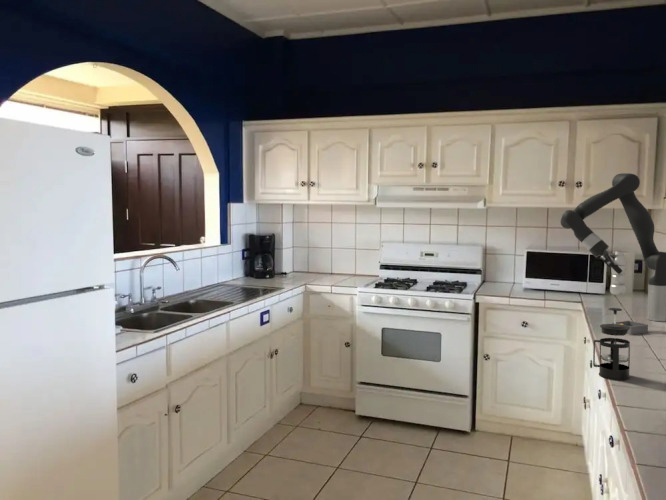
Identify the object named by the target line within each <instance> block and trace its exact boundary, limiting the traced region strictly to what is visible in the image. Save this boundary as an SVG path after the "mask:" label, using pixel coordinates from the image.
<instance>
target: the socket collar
mask: <svg viewBox="0 0 666 500" xmlns="http://www.w3.org/2000/svg"><path fill="white" fill-rule="evenodd" d="M611 324H614V321H613V322H612V323H611ZM616 324H620V325H626V326H629V327H630V329H629V330H628V332H627V334H626V335H630V336H631V335H640V334H646V333H647V334H648V331H649V325H648V324H646V323H643V322H637V321H633V320H622V321H616Z"/></svg>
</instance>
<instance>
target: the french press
mask: <svg viewBox="0 0 666 500" xmlns="http://www.w3.org/2000/svg"><path fill="white" fill-rule="evenodd" d="M607 310H608V311H613V316H614V320H613V322H614V324H612V323H602V324H600V325H599V326H600V328H601V329H600V332H601V333H602V334H603V335H606V336H607V335H609V336H613V337H603V338H600V339H594V340H593V346H592V347H593V349H592V350H593V352H592V353H593V355H592V356H593V357H592V358H593V359H592V362H593V363H592V365H593V367H595V368H599V372H598V376H599V377H601V378H603V379H606V380H610V381H627V380H630V379H631V376H630V365H631V364H630V358H631V357H630V356H631V355H630V354H631V352H630V351H631V342H630V340H627V339H625V338H618V336H620V337H621V336H626V335H628V334H627V332H628V330H629V329H630V327H629V326H626V325H620V324H616V322H617V321H616V320H617V316H616V315H617V314H618V312H619V311H620V312H622V311H623V309H622V308H620V307H610V308H607ZM616 336H617V337H616ZM596 343H599V364H596V363H595V360H596V357H595V356H596V355H595V354H596ZM602 347H606V348H610V353H606V354H602ZM620 349H628V351H627V352H628V355H627V356H625V355H622V354H620ZM601 354H602V355H601ZM601 360H603V361H606V362H602V361H601ZM626 362H627V364H628V365H626V364H622V363H626Z"/></svg>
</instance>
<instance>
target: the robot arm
mask: <svg viewBox="0 0 666 500" xmlns="http://www.w3.org/2000/svg"><path fill="white" fill-rule="evenodd" d="M640 183H641V180H640V178H639V176H638V175H637V174H634V173H629V172H627V173H624V172H623V173H618V174H615V175H614V176H613V178H612V180H611V187H610V188H608V189H606V190H604V191H601V192H599V193H597V194H594V195H592V196H590V197H588V198H587V199H585V200H584V201H582V202H580V203H579V204H578V205H577V206H576V207H575V208H573V210H572V209H569V210H567V209H566V210H565V211H564V212H563V214H562V215H561V218H560V226H562V228H564V229H567V230H568V229H571V230H572V232H573V233H574V236H575V238H576V239H577V240H578V241H579V242H580V243H581V244H582V245H583V246H584V247H585V249H587V251H589V253H591V255H592V256H594V257H595V258H598V257H599V259H600V260H601V261H602V262H603V263H604V264H606V266H608V268H613V269H614V270H615V271H616V272H617V273H618V274H620V273H621V272H622V269H620V268H619V267H618V266H617V265H616V263H615V262H614V259H613V258H614V257H615V255H614V253H613V252H612V251H608V249H609V247H610V246H609V245H608V244H607V243H606V242H605V241H604V240H603V239H602V238H601V237H600V236H599V235H597V234H596V233H595V232H594V231H593V230H592V229H591V228H590V227H589V226H587V224H586V222H585V221H584V220H585V219H586V218H588V217H589V216H591V215H592V214H595V213H596V212H597V211H599V210H600V209H602V208H603V207H605V206H607V205H609V204H610V203H613V202H614V201H616V200H618V199H619V201H620V204H621V205H622V207H623V210H624V212H625V214H626V216H627V219H628V222H629V224H630V227H631V228H632V231H633V233H634V235H635V237H636V240H637V243H638V244H639V248H640V251H641V254H642V258H643V260H644V264H645V266H646V267H647V268H648V269H650V270H651V271H652V270H653V271H654V275H653V276H652V277H649V278H648V281H647V284H648V287H647V320H649V321H653V322H666V251H659V249H658V248H657V246H656V244H655V241H654V236H655V235H654V234H655V223H654V221H653V219H652V216H651V214H650V213H649V211H648V209H647V208H646V207H645V205H643V204H642V202H641V201H640V200H639V199H638V198H637V196H636V194H635V191H636V190H638V188H639V187H640Z"/></svg>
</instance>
